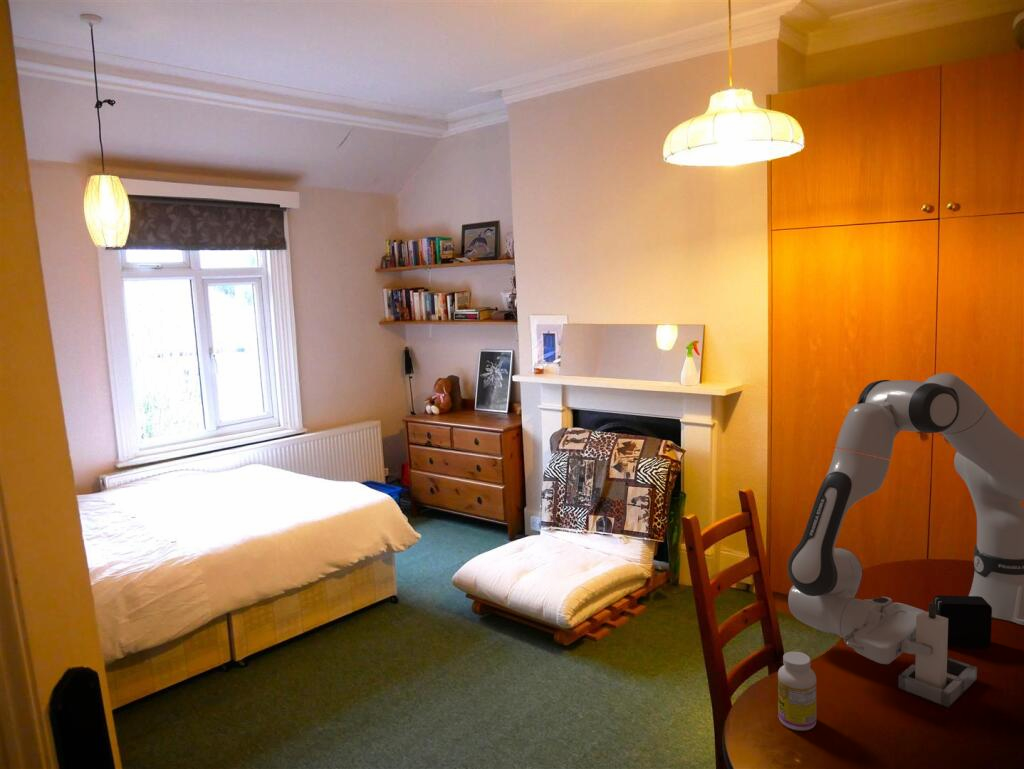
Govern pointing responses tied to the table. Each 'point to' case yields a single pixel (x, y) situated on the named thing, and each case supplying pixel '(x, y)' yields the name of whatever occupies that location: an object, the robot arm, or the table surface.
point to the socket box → (956, 685)
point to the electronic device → (966, 620)
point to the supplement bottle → (797, 692)
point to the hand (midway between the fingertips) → (936, 647)
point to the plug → (935, 634)
